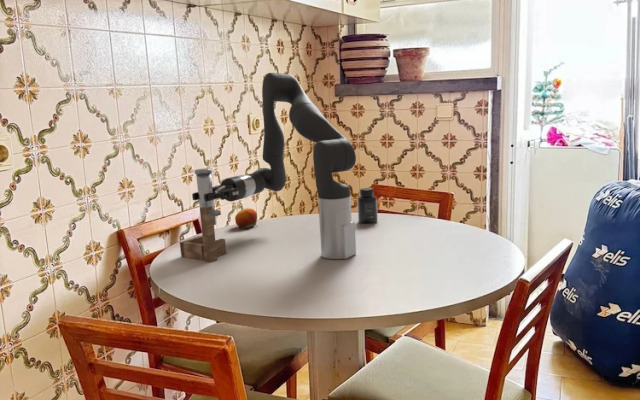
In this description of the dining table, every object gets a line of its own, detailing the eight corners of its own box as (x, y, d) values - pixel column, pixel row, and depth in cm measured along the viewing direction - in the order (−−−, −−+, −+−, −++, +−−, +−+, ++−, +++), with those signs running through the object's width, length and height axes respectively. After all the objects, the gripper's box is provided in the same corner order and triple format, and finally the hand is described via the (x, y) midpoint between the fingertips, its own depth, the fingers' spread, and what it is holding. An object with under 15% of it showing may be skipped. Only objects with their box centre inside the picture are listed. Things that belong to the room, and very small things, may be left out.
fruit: (250, 227, 198) (240, 207, 199) (238, 236, 202) (228, 216, 204) (266, 222, 204) (256, 202, 205) (253, 231, 209) (244, 212, 210)
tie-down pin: (221, 223, 172) (215, 168, 169) (208, 227, 168) (202, 171, 165) (209, 222, 175) (203, 168, 172) (196, 225, 171) (190, 170, 168)
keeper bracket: (241, 255, 168) (236, 202, 165) (220, 263, 160) (214, 209, 157) (201, 249, 177) (196, 199, 174) (180, 257, 170) (174, 205, 167)
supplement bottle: (380, 220, 202) (379, 187, 200) (372, 224, 197) (370, 191, 194) (364, 219, 206) (362, 186, 204) (355, 223, 200) (353, 190, 198)
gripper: (221, 175, 184) (181, 184, 171) (254, 176, 176) (214, 186, 163) (223, 197, 186) (184, 208, 172) (256, 200, 178) (217, 211, 164)
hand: (199, 197), depth 167 cm, fingers closed on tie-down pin, 4 cm apart
